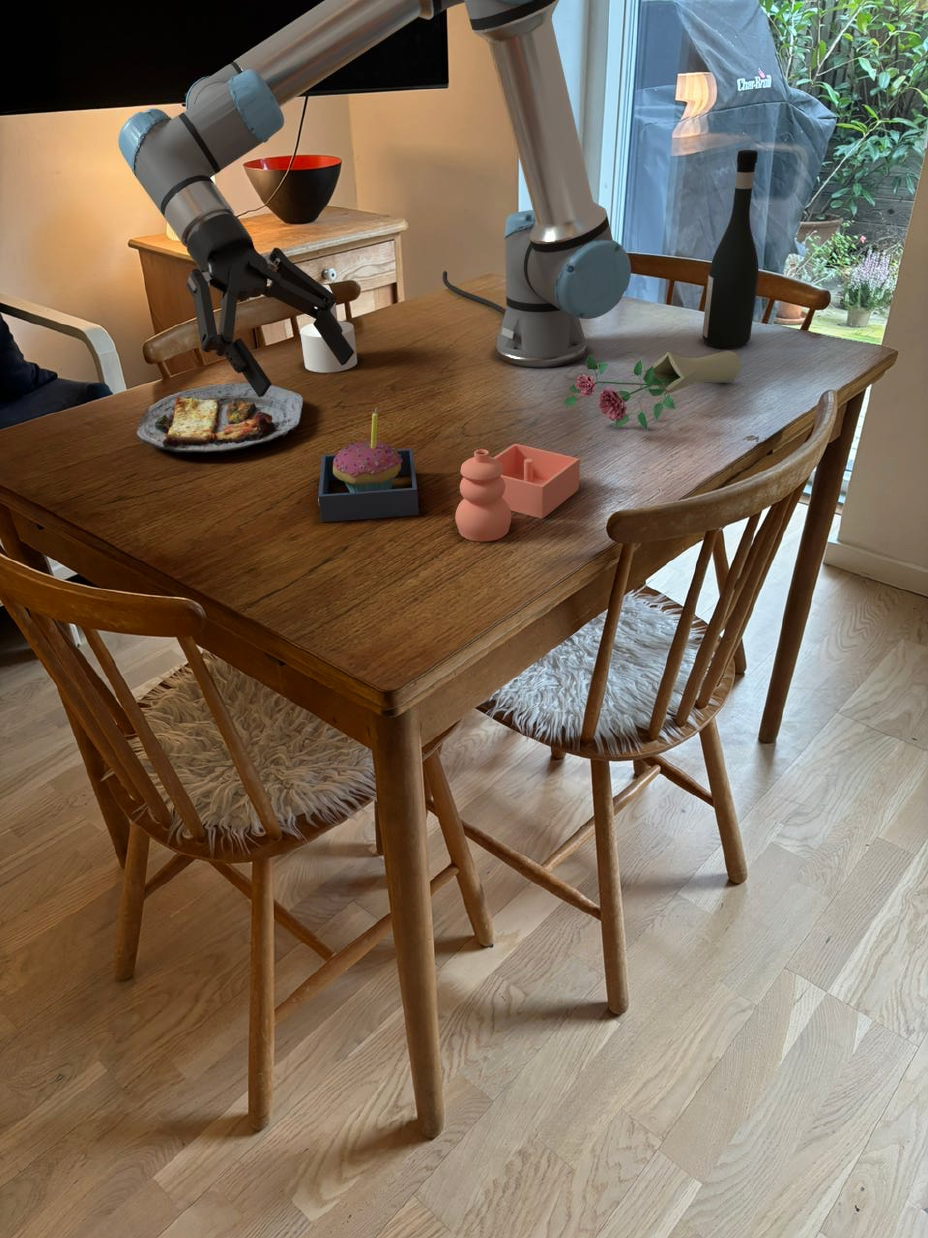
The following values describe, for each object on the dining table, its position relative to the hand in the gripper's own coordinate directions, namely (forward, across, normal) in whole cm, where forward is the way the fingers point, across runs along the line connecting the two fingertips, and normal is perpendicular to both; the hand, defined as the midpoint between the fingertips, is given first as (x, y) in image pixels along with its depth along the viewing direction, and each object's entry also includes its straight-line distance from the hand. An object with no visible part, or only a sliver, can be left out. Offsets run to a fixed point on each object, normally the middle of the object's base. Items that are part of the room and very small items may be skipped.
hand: (308, 374), depth 117 cm
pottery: (+28, -8, +8) cm, 30 cm away
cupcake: (+16, 0, -4) cm, 17 cm away
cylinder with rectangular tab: (-13, -32, -33) cm, 48 cm away
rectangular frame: (+16, 0, -4) cm, 17 cm away
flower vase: (+28, -44, +8) cm, 53 cm away
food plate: (-7, -3, -28) cm, 29 cm away
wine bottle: (+22, -78, +2) cm, 81 cm away
